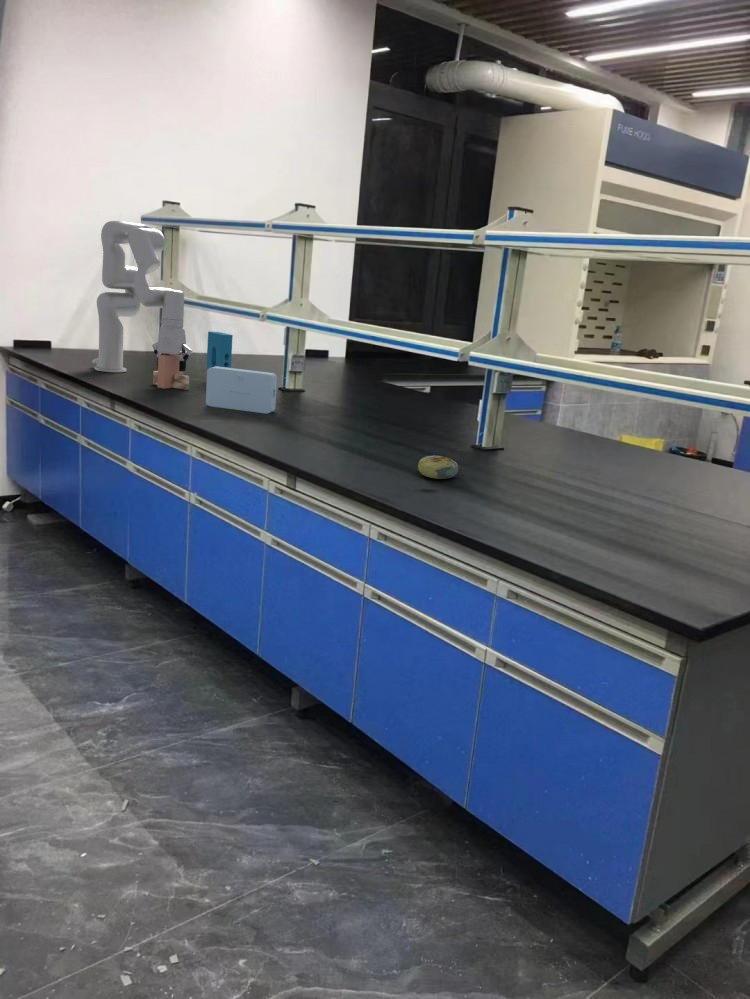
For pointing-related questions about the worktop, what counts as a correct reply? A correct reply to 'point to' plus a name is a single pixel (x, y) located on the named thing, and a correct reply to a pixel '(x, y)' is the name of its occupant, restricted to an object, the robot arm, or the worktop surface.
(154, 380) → the slot plate base
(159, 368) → the terracotta plate
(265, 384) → the pale blue box
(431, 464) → the cell model
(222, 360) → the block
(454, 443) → the worktop surface
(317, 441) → the worktop surface
